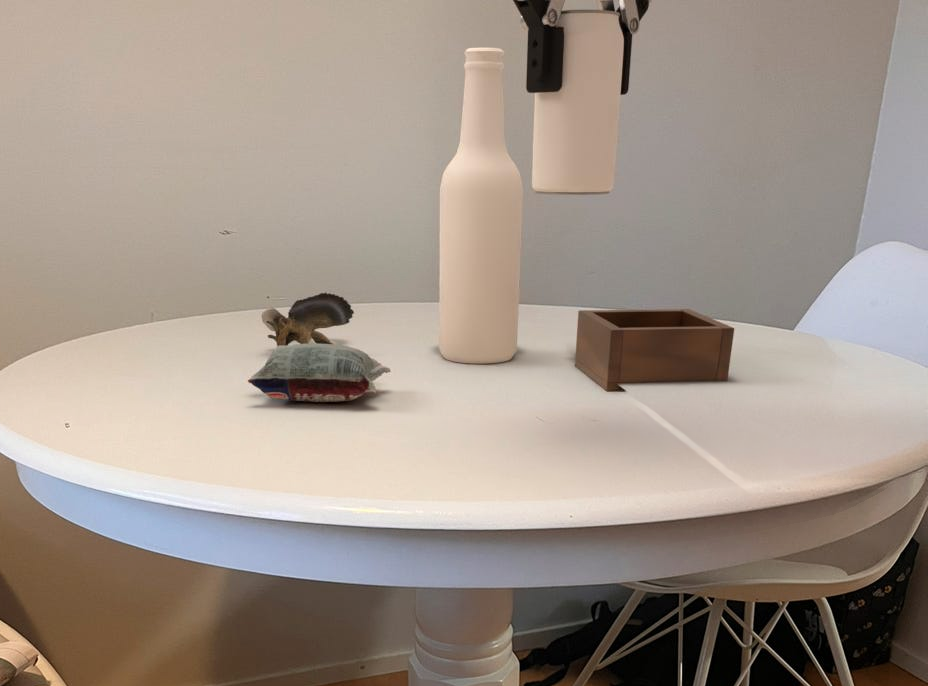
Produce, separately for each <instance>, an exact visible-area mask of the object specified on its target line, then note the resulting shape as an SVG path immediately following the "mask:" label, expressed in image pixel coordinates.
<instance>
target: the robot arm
mask: <svg viewBox="0 0 928 686" xmlns="http://www.w3.org/2000/svg"><path fill="white" fill-rule="evenodd" d="M512 1H513V3H514V5H515V7H516V8H517V10H518V12H519V14H520V25H521V27H522V28H523V29H524V30H527V47H526V81H525V89H526V92H527V93H529V94H535V93H543V92H558V91H559V90H560V89H561V87H562V73H563V51H564V27H556V24H557V23H558V20H559V17H560V14H561V11H563V7H564V5H565V2H566V0H512ZM652 1H653V0H618V4H619V6H618V7H617V8H615V4H614V3H615V2H614V0H596V5H597V10H607V11H615V12H618V13H620V16H619V25H620V28H621V31H622V34H623V37H624V48H623V65H622V80H621V94H620V96H622V95H626V94H628V92H629V90H630V89H629V88H630V75H631V74H630V73H631V60H632V46H633V35H637V33H638V32H639V30H640V25H641V24H640V22H641V20H642V19H643V17H644V16H645V14H646V13H647V12H648V10H649V6H650V3H651V2H652Z"/></svg>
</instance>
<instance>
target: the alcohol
mask: <svg viewBox="0 0 928 686" xmlns="http://www.w3.org/2000/svg"><path fill="white" fill-rule="evenodd" d="M463 55H464V56H465V63H464V64H463V69H464V70H465V73H464V75H465V76H464V84H463V85H464V87H463V98H462V99H463V100H462V112H461V113H462V114H461V124H460V135H459V144H458V146H457V150H456V153H455V155H454V156H453V158H451V160H450V161H449V163H448V164H447V166H446V168H445V169H444V171H443V174H442V177H441V181H440V187H439V277H438V279H439V282H438V283H439V284H438V285H439V287H438V288H439V295H438V297H439V299H438V300H439V302H438V303H439V304H438V310H439V312H438V316H439V319H438V321H439V323H438V325H439V326H438V327H439V329H438V335H439V336H438V348H439V351H440V352H441V355H442V356H443V358H444V359H445V360H448V361H449V362H450V361H451V362H455V363H460V364H471V365H472V364H474V365H485V364H486V365H487V364H488V365H489V364H499V363H505V362H509V361H510V360H512V359H513V357H514V356H515V354H516V352H517V350H518V335H519V333H518V329H519V308H520V306H519V304H520V282H521V259H522V258H521V254H522V233H523V232H522V228H523V206H524V205H523V204H524V203H523V202H524V201H523V200H524V186H523V180H522V176H521V172H520V171H519V168H518V167H517V165H516V163H515V162H514V161H513V159H512V158H511V157H510V155H509V151H508V147H507V145H506V132H505V105H504V104H505V103H504V102H505V101H504V80H503V78H504V77H503V75H504V74H503V70H504V69H505V64H504V63H503V62H504V61H503V60H504V56H505V51H504V50H503V49H502V48H499V47H469V48H466V49H465V51H464V53H463Z"/></svg>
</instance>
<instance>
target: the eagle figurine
mask: <svg viewBox="0 0 928 686" xmlns="http://www.w3.org/2000/svg"><path fill="white" fill-rule="evenodd" d="M354 313H355V311H354V310H353V309H352V305H351V304H350V303H349V302H348V300H346V299H345V298H344V297H343V296H339V295H338V294H335V293H330V292H329V293H328V292H321V293H319V294H315V295H313V296H308V297H307V298H303V299H297V300H295V301H294V303H293V304H292V306H291V307H290V309H289V310H288V313H287V314H288V317H287V316H285V315H283V314H282V313H280V311H278V310H277V309H276V308H274V307H272V308H268V309H266V310H264V311H263V312H261V315H260V317H261V320H262V323H263V324H264V325H265V326H266V328H268V329H269V330H270V331H272V332H274V333H275V335H273V334H268V335H267V338H268V339H272V340H274V341H275V342H276V348H277V347H278V346H284V345H290V344H291V343H293V342H297V343H298V344H307V343H318V344H334V345H336V344H335V343H333V342H332V341H330V339H329V338H328V337H327V336H326V335H325V334H323V333H322V332H321V331H318V330H319V329H328V328H331V327H332V328H333V327H341V326H345V325H348V324H349V323H350V319H352V318H353V317H354V316H353V315H354Z"/></svg>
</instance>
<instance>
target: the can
mask: <svg viewBox="0 0 928 686" xmlns="http://www.w3.org/2000/svg"><path fill="white" fill-rule="evenodd" d="M619 16H620V13H618V12H616V10H615V11H607V10H598V9H566V10H562V11H561V14H560V17H559V20H558V23H557V24H556V27H564V51H563V73H562V87H561V89H560V90H559V91H558V92H543V93H534V105H533V106H534V107H533V108H534V109H533V133H532V134H533V135H532V137H533V138H532V164H531V165H532V166H531V167H532V168H531V170H532V173H531V188H532V189H533V190H534V191H535V194H537V195H538V194H539V195H555V196H556V195H558V196H559V195H562V196H577V195H578V196H588V195H589V196H590V195H591V196H592V195H595V196H596V195H608V194H610V193H611V190H613V189H614V186H615V176H616V166H617V165H616V164H617V151H618V150H617V149H618V136H619V124H620V122H619V120H620V110H621V109H620V107H621V95H620V94H621V80H622V65H623V48H624V37H623V34H622V31H621V28H620V25H619Z"/></svg>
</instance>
